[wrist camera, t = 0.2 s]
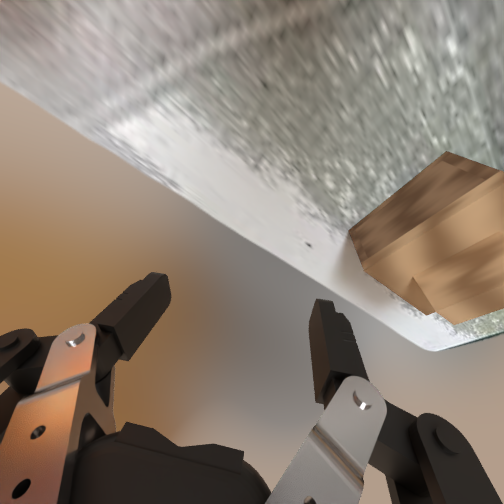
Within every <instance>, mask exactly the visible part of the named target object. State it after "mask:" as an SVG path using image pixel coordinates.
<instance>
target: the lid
mask: <svg viewBox="0 0 504 504" xmlns="http://www.w3.org/2000/svg"><path fill="white" fill-rule="evenodd" d="M361 264H362V267H363V269H364V271H365V272H366V273H368V274H369V275H370V276H372V277H373V278H375V279H376V280H377V281H379V282H380V283H382V284H383V285H384V286H386V287H387V288H389V289H390V290H391V291H393V292H394V293H396V294H397V295H398V296H400V297H401V298H403V299H404V300H405V301H407V302H408V303H410V304H411V305H412V306H414V307H415V308H417V309H418V310H419V311H421V312H422V313H424V314H425V315H429V314H431V313H434V312H437V313H438V314H440V315H441V316H442V317H444V318H445V319H447V320H448V321H449V322H451V323H452V324H453V325H456V324H459V323H462V322H465V321H468V320H471V319H474V318H476V317H479V316H482V315H485V314H488V313H491V312H494V311H497V310H500V309H503V308H504V172H503V171H499V172H498V173H496V174H495V175H493V176H492V177H490V178H489V179H487V180H486V181H484V182H483V183H481V184H480V185H478V186H477V187H475V188H474V189H472V190H471V191H469V192H468V193H466V194H465V195H463V196H462V197H460V198H458V199H457V200H455V201H454V202H452V203H451V204H449V205H448V206H446V207H445V208H443V209H442V210H440V211H439V212H437V213H436V214H434V215H433V216H431V217H430V218H428V219H427V220H425V221H424V222H422V223H421V224H419V225H418V226H416V227H415V228H413V229H412V230H410V231H409V232H407V233H406V234H404V235H403V236H401V237H400V238H398V239H397V240H395V241H394V242H392V243H391V244H389V245H387V246H386V247H384V248H383V249H381V250H380V251H378V252H377V253H375V254H374V255H372V256H371V257H369V258H368V259H366V260H365V261H363V262H362V263H361Z"/></svg>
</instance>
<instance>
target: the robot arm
mask: <svg viewBox="0 0 504 504" xmlns="http://www.w3.org/2000/svg"><path fill="white" fill-rule="evenodd" d="M170 301H171V291H170V287H169V281H168V276H167V275H166V274H161V273H155V272H151V273H150V274H148V275H147V276H146V277H145V278H144V279H143V280H139V281H137V282H136V283H134V284H132V285H130V286H129V287H128V288H127V289H126V290H125V291H124V292H123V293H122V294H120V295H119V296H118V297H117V298H116V300H114V301H113V302H112V303H111V304H110V305H108V306H107V307H106V308H105V309H104V310H103V311H102V312H101V313H100V314H99V315H97V316H96V318H94V319H93V320H92V321H91V322H90V323H89V324H79V325H76V326H73V327H71V328H69V329H67V330H65V331H64V332H62V333H61V334H60V335H57V336H47V337H37V335H36V334H35V333H34V331H33V330H31V329H18V330H14V331H11V332H9V333H6V334H4V335H2V336H0V383H1V382H2V381H5V382H6V383H7V384H8V385H9V386H10V387H8V389H6V390H5V391H4V392H3V393H2V394H1V395H0V504H358V503H359V500H360V497H361V494H362V491H363V486H364V480H363V475H364V472H365V469H366V466H367V464H368V463H369V464H370V465H372V466H373V467H375V468H377V469H378V470H379V471H381V472H382V473H384V474H385V476H386V480H387V484H388V488H389V492H390V497H391V501H392V504H503V503H502V502H501V500H500V498H499V496H498V494H497V492H496V491H495V489H494V487H493V485H492V483H491V481H490V479H489V478H488V476H487V474H486V472H485V470H484V469H483V467H482V465H481V463H480V461H479V459H478V457H477V456H476V454H475V452H474V450H473V448H472V447H471V445H470V444H469V442H468V441H467V439H466V438H465V437H464V436H463V435H462V433H461V432H460V431H459V430H458V429H457V428H455V427H454V426H453V425H452V424H451V423H449V422H448V421H447V420H445V419H443V418H441V417H440V416H437V415H434V414H431V413H424V414H421V415H420V416H419V417H418V418H417V417H416V416H413V415H411V414H410V413H408V412H406V411H403V410H402V409H400V408H398V407H396V406H394V405H393V404H391V403H389V402H388V401H386V400H385V399H384V398H383V396H382V395H381V393H380V392H379V391H378V389H377V388H376V387H375V386H374V385H373V384H372V383H370V381H369V379H368V376H367V373H366V370H365V367H364V364H363V361H362V358H361V355H360V352H359V349H358V346H357V343H356V339H355V336H354V335H353V330H352V327H351V324H350V322H349V321H348V320H347V318H346V317H345V316H344V314H343V313H337V312H336V311H335V307H334V304H333V301H329V300H323V299H316V301H315V304H314V307H313V310H312V314H311V317H310V321H309V339H310V350H311V360H312V370H313V381H314V390H315V401H316V403H321V404H324V410H325V411H324V413H323V414H322V416H321V417H320V419H319V420H318V422H317V424H316V425H315V426H314V427H313V429H312V430H311V432H310V433H309V435H308V436H307V438H306V440H305V441H304V443H303V444H302V446H301V447H300V449H299V450H298V452H297V454H296V455H295V457H294V459H293V460H292V462H291V463H290V465H289V466H288V468H287V469H286V471H285V473H284V474H283V476H282V477H281V479H280V481H279V482H278V484H277V485H276V487H275V488H274V490H273V491H272V493H271V491H270V489H269V488H268V486H267V484H266V483H265V481H264V480H263V478H262V477H261V476H260V475H259V473H258V472H257V471H256V470H255V469H254V468H253V467H252V466H251V465H250V464H248V463H247V462H245V461H244V460H243V457H244V451H241V450H237V449H233V448H229V447H225V446H221V445H217V444H206V445H196V446H187V447H179V446H177V445H175V444H174V443H172V442H171V441H170V440H169V439H167V438H166V437H164V436H163V435H162V434H160V433H159V432H158V431H156V430H155V429H153V428H149V427H145V426H141V425H137V424H133V423H129V422H126V423H125V425H124V427H123V428H122V430H121V431H119V432H116V425H115V419H114V415H113V400H114V381H115V366H114V365H115V363H116V362H117V361H118V360H119V359H120V360H125V361H129V360H130V359H131V357H132V356H133V354H134V353H135V352H136V350H137V349H138V347H139V346H140V345H141V343H142V342H143V341H144V339H145V338H146V336H147V335H148V334H149V332H150V331H151V330H152V328H153V327H154V325H155V324H156V323H157V321H158V320H159V319H160V317H161V316H162V314H163V313H164V312H165V310H166V309H167V308H168V306H169V304H170Z"/></svg>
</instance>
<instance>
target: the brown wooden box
mask: <svg viewBox="0 0 504 504" xmlns="http://www.w3.org/2000/svg"><path fill="white" fill-rule="evenodd" d="M499 171H500V170H497V169H494V168H491V167H489V166H486V165H483V164H480V163H478V162H475V161H472V160H469V159H467V158H464V157H461V156H458V155H456V154H453V153H450V152H447V151H446V152H445V153H444V154H443V155H441V156H440V157H439V158H438V159H436V160H435V161H434V162H433V163H431V164H430V165H429V166H428V167H426V168H425V169H424V170H423V171H421V172H420V173H419V174H418V175H417V176H415V177H414V178H413V179H412V180H410V181H409V182H408V183H407V184H405V185H404V186H403V187H402V188H400V189H399V190H398V191H397V192H396V193H394V194H393V195H392V196H391V197H389V198H388V199H387V200H386V201H384V202H383V203H382V204H381V205H379V206H378V207H377V208H376V209H375V210H373V211H372V212H371V213H370V214H368V215H367V216H366V217H365V218H363V219H362V220H361V221H360V222H358V223H357V224H356V225H355V226H353V227H352V228H351V229H350V230H349V233H350V236H351V238H352V241H353V243H354V246H355V249H356V251H357V254H358V256H359V259H360V262H361V263H362V262H363V261H365V260H366V259H368V258H369V257H371V256H372V255H374V254H375V253H377V252H378V251H380V250H381V249H383V248H384V247H386V246H387V245H389V244H391V243H392V242H394V241H395V240H397V239H398V238H400V237H401V236H403V235H404V234H406V233H407V232H409V231H410V230H412V229H413V228H415V227H416V226H418V225H419V224H421V223H422V222H424V221H425V220H427V219H428V218H430V217H431V216H433V215H434V214H436V213H437V212H439V211H440V210H442V209H443V208H445V207H446V206H448V205H449V204H451V203H452V202H454V201H455V200H457V199H458V198H460V197H462V196H463V195H465V194H466V193H468V192H469V191H471V190H472V189H474V188H475V187H477V186H478V185H480V184H481V183H483V182H484V181H486V180H487V179H489V178H490V177H492V176H493V175H495V174H496V173H498V172H499Z"/></svg>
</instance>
